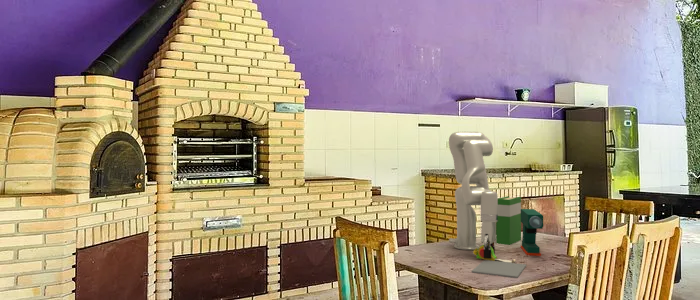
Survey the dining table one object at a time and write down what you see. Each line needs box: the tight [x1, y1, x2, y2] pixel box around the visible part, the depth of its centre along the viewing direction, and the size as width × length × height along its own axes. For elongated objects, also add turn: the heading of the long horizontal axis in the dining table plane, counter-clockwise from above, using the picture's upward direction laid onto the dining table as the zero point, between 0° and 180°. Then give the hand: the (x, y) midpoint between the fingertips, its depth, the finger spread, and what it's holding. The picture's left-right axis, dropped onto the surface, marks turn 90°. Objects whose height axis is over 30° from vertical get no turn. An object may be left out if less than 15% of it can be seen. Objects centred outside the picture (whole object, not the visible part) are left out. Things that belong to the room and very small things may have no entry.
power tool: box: [520, 208, 544, 257], centre depth 226 cm, size 32×7×20 cm, turn 168°
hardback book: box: [495, 196, 522, 246], centre depth 258 cm, size 18×7×24 cm, turn 141°
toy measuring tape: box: [472, 244, 517, 263], centre depth 215 cm, size 6×19×7 cm, turn 53°
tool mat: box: [471, 259, 527, 279], centre depth 199 cm, size 18×22×1 cm
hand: (489, 256), depth 217 cm, fingers closed on toy measuring tape, 6 cm apart
